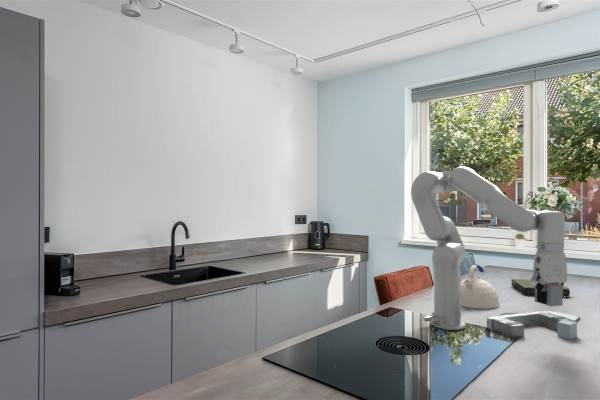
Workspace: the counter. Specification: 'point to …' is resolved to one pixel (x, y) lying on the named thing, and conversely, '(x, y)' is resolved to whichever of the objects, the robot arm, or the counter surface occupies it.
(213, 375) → the counter surface
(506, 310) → the counter surface
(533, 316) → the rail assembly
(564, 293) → the network switch
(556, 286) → the module block
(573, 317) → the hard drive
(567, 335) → the block
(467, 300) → the kettle
